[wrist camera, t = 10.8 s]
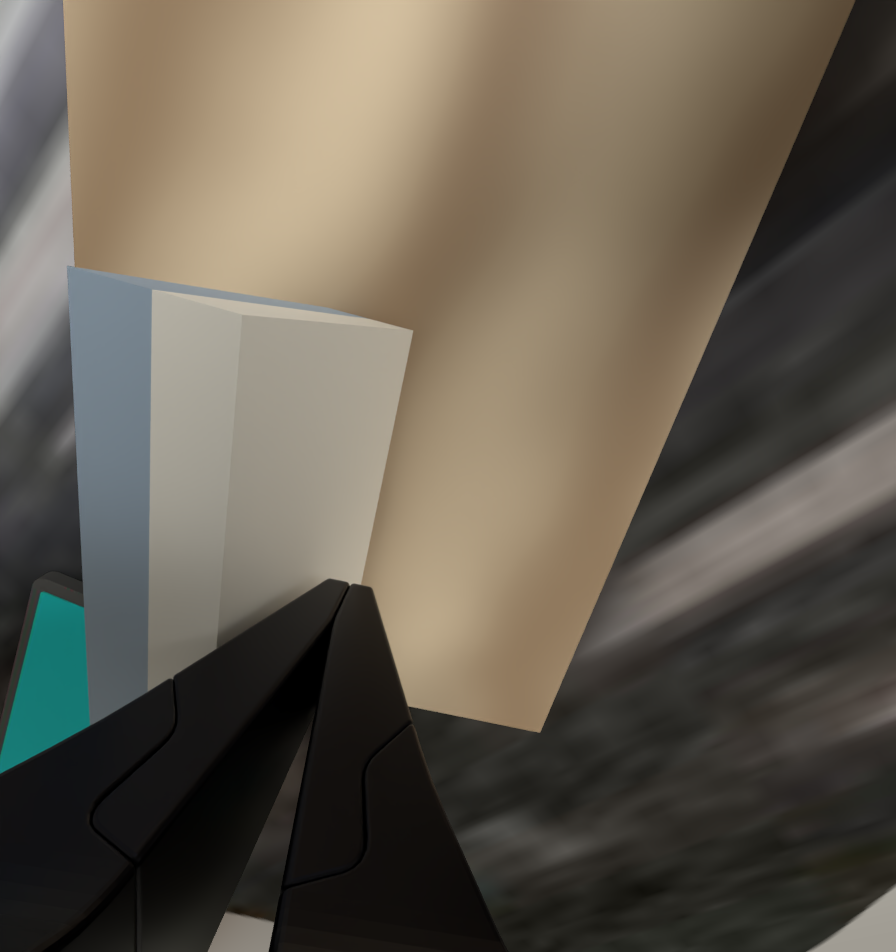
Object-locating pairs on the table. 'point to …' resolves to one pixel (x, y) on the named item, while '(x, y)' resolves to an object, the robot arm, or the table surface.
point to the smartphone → (47, 672)
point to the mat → (462, 255)
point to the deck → (216, 464)
